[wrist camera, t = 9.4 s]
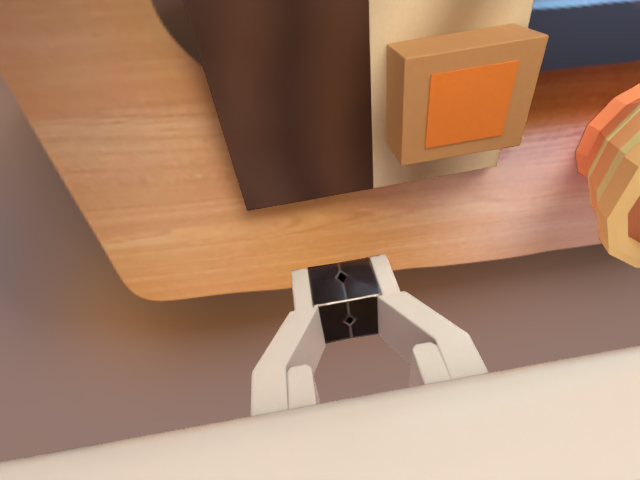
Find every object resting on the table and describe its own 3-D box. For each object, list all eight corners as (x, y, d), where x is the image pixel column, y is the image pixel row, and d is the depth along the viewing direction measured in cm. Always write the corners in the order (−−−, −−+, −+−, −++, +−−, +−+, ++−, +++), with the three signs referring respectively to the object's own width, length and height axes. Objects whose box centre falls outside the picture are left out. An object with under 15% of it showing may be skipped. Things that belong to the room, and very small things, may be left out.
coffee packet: (514, 22, 22) (551, 34, 20) (493, 124, 27) (521, 146, 24) (386, 43, 22) (405, 59, 19) (385, 143, 26) (401, 167, 24)
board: (535, -62, 21) (548, -62, 20) (489, 159, 30) (497, 166, 29) (184, -6, 20) (181, -3, 19) (247, 202, 29) (247, 211, 28)
